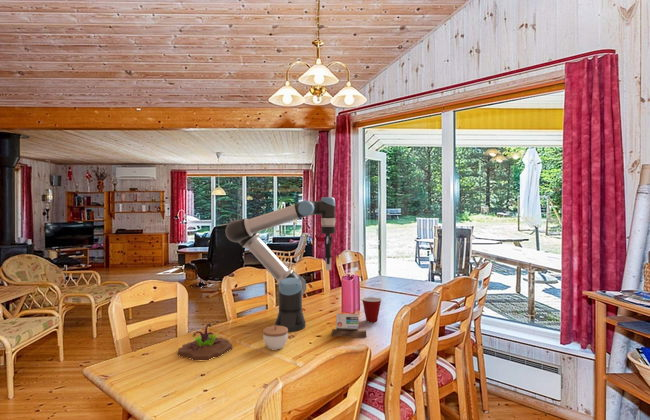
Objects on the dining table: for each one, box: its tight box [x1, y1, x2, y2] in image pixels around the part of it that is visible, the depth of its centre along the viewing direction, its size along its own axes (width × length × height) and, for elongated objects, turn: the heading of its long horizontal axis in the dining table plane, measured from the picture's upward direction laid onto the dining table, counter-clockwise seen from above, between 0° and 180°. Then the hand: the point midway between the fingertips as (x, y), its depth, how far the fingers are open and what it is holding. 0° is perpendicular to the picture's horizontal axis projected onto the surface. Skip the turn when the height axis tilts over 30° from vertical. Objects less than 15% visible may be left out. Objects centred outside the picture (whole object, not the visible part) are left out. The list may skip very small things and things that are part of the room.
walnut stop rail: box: [331, 328, 367, 338], centre depth 169 cm, size 16×2×2 cm, turn 84°
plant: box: [177, 323, 233, 361], centre depth 153 cm, size 20×20×11 cm
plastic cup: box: [361, 296, 383, 323], centre depth 191 cm, size 11×11×12 cm
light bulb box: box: [335, 313, 360, 330], centre depth 172 cm, size 11×7×11 cm
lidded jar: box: [262, 325, 289, 351], centre depth 156 cm, size 11×11×9 cm
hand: (328, 269), depth 194 cm, fingers closed
